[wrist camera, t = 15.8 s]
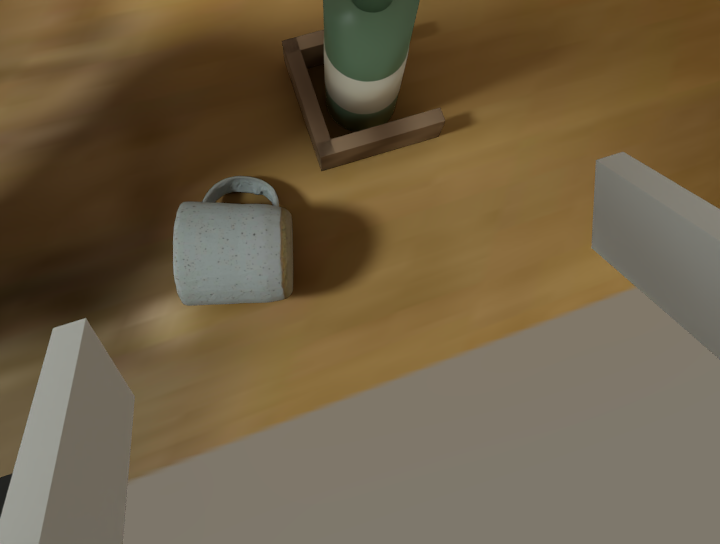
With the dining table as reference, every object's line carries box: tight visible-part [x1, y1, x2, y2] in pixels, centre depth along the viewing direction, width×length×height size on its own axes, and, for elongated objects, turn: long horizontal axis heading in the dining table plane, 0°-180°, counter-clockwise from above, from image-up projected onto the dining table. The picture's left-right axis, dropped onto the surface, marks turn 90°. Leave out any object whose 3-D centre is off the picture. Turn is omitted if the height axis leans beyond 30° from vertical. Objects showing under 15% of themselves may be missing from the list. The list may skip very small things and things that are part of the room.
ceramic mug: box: [173, 176, 293, 305], centre depth 43 cm, size 11×8×8 cm
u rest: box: [282, 30, 445, 171], centre depth 48 cm, size 10×10×3 cm
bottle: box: [323, 0, 419, 132], centre depth 40 cm, size 6×6×20 cm
